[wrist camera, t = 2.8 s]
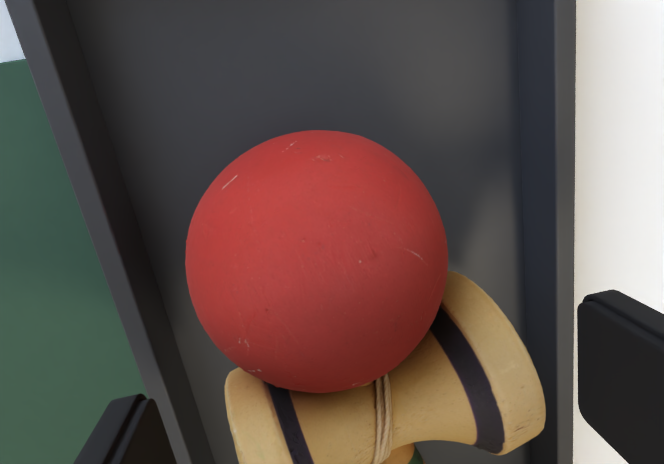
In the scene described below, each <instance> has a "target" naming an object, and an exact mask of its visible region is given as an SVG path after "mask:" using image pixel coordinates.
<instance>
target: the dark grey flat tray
mask: <svg viewBox="0 0 664 464" xmlns="http://www.w3.org/2000/svg"><path fill="white" fill-rule="evenodd" d="M5 3H6V6H7V8H8V11H9V14H10V17H11V19H12V22H13V25H14V28H15V31H16V33H17V36H18V39H19V42H20V44H21V47H22V50H23V53H24V55H25V58H26V61H27V64H28V66H29V69H30V72H31V75H32V77H33V80H34V83H35V86H36V88H37V91H38V94H39V97H40V100H41V102H42V105H43V108H44V111H45V113H46V116H47V119H48V122H49V124H50V127H51V130H52V133H53V135H54V138H55V141H56V144H57V146H58V149H59V152H60V155H61V158H62V160H63V163H64V166H65V169H66V171H67V174H68V177H69V180H70V182H71V185H72V188H73V191H74V193H75V196H76V199H77V202H78V204H79V207H80V210H81V213H82V215H83V218H84V221H85V224H86V227H87V229H88V232H89V235H90V238H91V240H92V243H93V246H94V249H95V251H96V254H97V257H98V260H99V262H100V265H101V268H102V271H103V273H104V276H105V279H106V282H107V285H108V287H109V290H110V293H111V296H112V298H113V301H114V304H115V307H116V309H117V312H118V315H119V318H120V320H121V323H122V326H123V329H124V331H125V334H126V337H127V340H128V343H129V345H130V348H131V351H132V354H133V356H134V359H135V362H136V365H137V367H138V370H139V373H140V376H141V378H142V381H143V384H144V387H145V389H146V392H147V395H148V398H149V399H151V398H152V399H154V400H155V402H156V404H157V406H158V409H159V412H160V415H161V418H162V421H163V424H164V427H165V430H166V433H167V436H168V439H169V441H170V444H171V447H172V450H173V453H174V456H175V459H176V462H177V464H239V461H238V457H237V453H236V449H235V445H234V440H233V437H232V433H231V431H230V424H229V421H228V417H227V410H226V402H225V382H226V378H227V376H228V374H229V372H231V371H233V370H234V369H236V368H238V366H237V365H236V364H235V363H233V362H232V361H231V360H230V359H229V358H228V357H227V356H226V355H225V354H224V353H222V352H221V350H220V349H219V348H218V347H217V346H216V345H215V344H214V343H213V341H212V340H211V338H210V337H209V335H208V334H207V332H206V331H205V330H204V328H203V326H202V324H201V323H200V321H199V319H198V317H197V314H196V311H195V308H194V306H193V303H192V300H191V296H190V293H189V288H188V284H187V276H186V266H185V260H186V253H185V251H186V240H187V236H188V231H189V226H190V223H191V219H192V217H193V214H194V212H195V209H196V207H197V205H198V204H199V202H200V200H201V198H202V196H203V195H204V193H205V192H206V190H207V189H208V188H209V186H210V185H211V183H212V182H213V181H214V180H215V178H216V177H217V176H218V175H219V174H220V173H221V172H222V171H223V170H224V169H225V168H226V167H227V166H228V165H229V164H230V163H231V162H232V161H234V160H235V159H237V158H238V157H239V156H240V155H242V154H243V153H245V152H247V151H248V150H250V149H252V148H253V147H255V146H257V145H259V144H261V143H263V142H265V141H267V140H270V139H273V138H275V137H279V136H282V135H285V134H289V133H294V132H300V131H308V130H328V131H340V132H345V133H351V134H355V135H359V136H362V137H365V138H367V139H370V140H372V141H374V142H376V143H378V144H380V145H382V146H383V147H385V148H386V149H388V150H389V151H391V152H392V153H394V154H395V155H396V156H397V157H399V158H400V159H401V160H402V161H403V162H404V163H405V164H407V165H408V166H409V167H410V168H411V169H412V170H413V171H414V173H415V174H416V175H417V176H418V177H419V179H420V180H421V181H422V183H423V184H424V186H425V187H426V188H427V190H428V192H429V194H430V195H431V197H432V199H433V201H434V202H435V205H436V207H437V209H438V212H439V214H440V217H441V220H442V223H443V226H444V229H445V234H446V239H447V248H448V271H454V272H457V273H459V274H462V275H464V276H466V277H467V278H468V279H470V280H471V281H473V282H474V283H475V284H476V285H478V286H479V287H480V288H481V289H483V291H484V292H485V293H486V294H487V295H489V296H490V297H491V298H492V299H493V301H494V302H495V303H496V304H497V305H498V307H499V308H500V309H501V311H502V312H503V313H504V314H505V316H506V317H507V318H508V320H509V321H510V322H511V324H512V325H513V327H514V329H515V331H516V332H517V334H518V335H519V337H520V339H521V340H522V342H523V344H524V345H525V347H526V349H527V351H528V353H529V355H530V357H531V359H532V362H533V365H534V367H535V369H536V371H537V374H538V377H539V380H540V383H541V386H542V389H543V394H544V399H545V407H546V419H545V424H544V428H543V430H542V431H541V432H540V433H539V434H538V435H537V436H536V437H534V438H532V439H531V440H529V441H527V442H526V443H524V444H522V445H520V446H519V447H517V448H515V449H514V450H512V451H510V452H508V453H507V454H503V455H494V454H491V453H489V452H487V451H485V450H483V449H481V450H480V449H478V448H477V447H474V446H472V445H469V444H465V443H461V442H455V441H446V440H426V441H418V442H414V444H415V446H416V448H417V449H418V451H419V453H420V454H421V456H422V458H423V460H424V462H425V463H426V464H573V347H574V208H575V70H576V0H5Z"/></svg>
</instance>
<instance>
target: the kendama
mask: <svg viewBox="0 0 664 464" xmlns="http://www.w3.org/2000/svg"><path fill="white" fill-rule="evenodd" d="M185 253H186V260H185V266H186V276H187V284H188V288H189V293H190V296H191V300H192V303H193V306H194V308H195V311H196V314H197V317H198V319H199V321H200V323H201V324H202V326H203V328H204V330H205V331H206V332H207V334H208V335H209V337H210V338H211V340H212V341H213V343H214V344H215V345H216V346H217V347H218V348H219V349H220V350H221V352H222V353H224V354H225V355H226V356H227V357H228V358H229V359H230V360H231V361H232V362H233V363H235V364H236V365H237V366H238V368H236V369H234V370H233V371H231V372H229V374H228V376H227V378H226V382H225V402H226V410H227V417H228V421H229V424H230V431H231V433H232V437H233V440H234V445H235V449H236V453H237V457H238V461H239V464H426V463H425V462H424V460H423V458H422V456H421V454H420V453H419V451H418V449H417V448H416V446H415V444H414V442H418V441H426V440H446V441H455V442H461V443H465V444H469V445H472V446H474V447H477V448H478V449H480V450H481V449H483V450H485V451H487V452H489V453H491V454H494V455H503V454H507V453H508V452H510V451H512V450H514V449H515V448H517V447H519V446H520V445H522V444H524V443H526V442H527V441H529V440H531V439H532V438H534V437H536V436H537V435H538V434H539V433H540V432H541V431H542V430H543V428H544V424H545V419H546V407H545V399H544V394H543V389H542V386H541V383H540V380H539V377H538V374H537V371H536V369H535V367H534V365H533V362H532V359H531V357H530V355H529V353H528V351H527V349H526V347H525V345H524V344H523V342H522V340H521V339H520V337H519V335H518V334H517V332H516V331H515V329H514V327H513V325H512V324H511V322H510V321H509V320H508V318H507V317H506V316H505V314H504V313H503V312H502V311H501V309H500V308H499V307H498V305H497V304H496V303H495V302H494V301H493V299H492V298H491V297H490V296H489V295H487V294H486V293H485V292H484V291H483V289H481V288H480V287H479V286H478V285H476V284H475V283H474V282H473V281H471V280H470V279H468V278H467V277H466V276H464V275H462V274H459V273H457V272H454V271H448V248H447V239H446V234H445V229H444V226H443V223H442V220H441V217H440V214H439V212H438V209H437V207H436V205H435V202H434V201H433V199H432V197H431V195H430V194H429V192H428V190H427V188H426V187H425V186H424V184H423V183H422V181H421V180H420V179H419V177H418V176H417V175H416V174H415V173H414V171H413V170H412V169H411V168H410V167H409V166H408V165H407V164H405V163H404V162H403V161H402V160H401V159H400V158H399V157H397V156H396V155H395V154H394V153H392V152H391V151H389V150H388V149H386V148H385V147H383V146H382V145H380V144H378V143H376V142H374V141H372V140H370V139H367V138H365V137H362V136H359V135H355V134H351V133H345V132H340V131H328V130H308V131H300V132H294V133H289V134H285V135H282V136H279V137H275V138H273V139H270V140H267V141H265V142H263V143H261V144H259V145H257V146H255V147H253V148H252V149H250V150H248V151H247V152H245V153H243V154H242V155H240V156H239V157H238V158H237V159H235V160H234V161H232V162H231V163H230V164H229V165H228V166H227V167H226V168H225V169H224V170H223V171H222V172H221V173H220V174H219V175H218V176H217V177H216V178H215V180H214V181H213V182H212V183H211V185H210V186H209V188H208V189H207V190H206V192H205V193H204V195H203V196H202V198H201V200H200V202H199V204H198V205H197V207H196V209H195V212H194V214H193V217H192V219H191V223H190V226H189V231H188V236H187V240H186V251H185Z"/></svg>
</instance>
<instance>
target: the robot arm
mask: <svg viewBox="0 0 664 464" xmlns="http://www.w3.org/2000/svg"><path fill="white" fill-rule="evenodd" d="M577 324H578V405H579V409H580V412H581V414H582V416H583V418H584V419H585V421H586V422H587V423H588V424H589V425H590V426H591V427H592V428H593V429H594V430H595V431H596V432H597V433H598V434H599V435H600V436H601V437H602V438H603V439H604V440H605V441H606V442H607V443H608V444H609V445H610V446H611V447H612V448H614V449H615V450H616V451H617V452H618V453H619V454H620V455H621V456H622V457H623V458H624V459H625V460H626V461H627V462H628V463H629V464H664V314H662V313H660V312H658V311H656V310H654V309H652V308H650V307H648V306H646V305H644V304H642V303H641V302H639V301H637V300H635V299H633V298H631V297H629V296H627V295H625V294H623V293H621V292H619V291H616V290H608V291H603V292H599V293H594V294H590V295H587V296H585V297H584V299H583V302H582V303H581V304H579V306H578V310H577ZM73 464H177V462H176V459H175V456H174V453H173V450H172V447H171V444H170V441H169V439H168V436H167V433H166V430H165V427H164V424H163V421H162V418H161V415H160V412H159V409H158V406H157V404H156V402H155V400H154V399H152V398H151V399H147V398H146V396H145V395H144V394H141V393H140V394H136V395H131V396H127V397H122V398H118V399H114V400H112V401H111V402H110V403H109V404H108V406H107V408H106V409H105V411H104V413H103V414H102V416H101V418H100V419H99V421H98V423H97V424H96V426H95V428H94V430H93V431H92V433H91V435H90V436H89V438H88V440H87V441H86V443H85V445H84V446H83V448H82V450H81V451H80V453H79V455H78V456H77V458H76V460H75V461H74V463H73Z"/></svg>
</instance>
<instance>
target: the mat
mask: <svg viewBox="0 0 664 464" xmlns="http://www.w3.org/2000/svg"><path fill="white" fill-rule="evenodd" d="M140 393H141V394H144V395H145V396H146V398H147V399H149V398H148V395H147V392H146V389H145V387H144V384H143V381H142V378H141V376H140V373H139V370H138V367H137V365H136V362H135V359H134V356H133V354H132V351H131V348H130V345H129V343H128V340H127V337H126V334H125V331H124V329H123V326H122V323H121V320H120V318H119V315H118V312H117V309H116V307H115V304H114V301H113V298H112V296H111V293H110V290H109V287H108V285H107V282H106V279H105V276H104V273H103V271H102V268H101V265H100V262H99V260H98V257H97V254H96V251H95V249H94V246H93V243H92V240H91V238H90V235H89V232H88V229H87V227H86V224H85V221H84V218H83V215H82V213H81V210H80V207H79V204H78V202H77V199H76V196H75V193H74V191H73V188H72V185H71V182H70V180H69V177H68V174H67V171H66V169H65V166H64V163H63V160H62V158H61V155H60V152H59V149H58V146H57V144H56V141H55V138H54V135H53V133H52V130H51V127H50V124H49V122H48V119H47V116H46V113H45V111H44V108H43V105H42V102H41V100H40V97H39V94H38V91H37V88H36V86H35V83H34V80H33V77H32V75H31V72H30V69H29V66H28V64H27V61H26V59H22V60H16V61H10V62H4V63H0V464H73V463H74V461H75V460H76V458H77V456H78V455H79V453H80V451H81V450H82V448H83V446H84V445H85V443H86V441H87V440H88V438H89V436H90V435H91V433H92V431H93V430H94V428H95V426H96V424H97V423H98V421H99V419H100V418H101V416H102V414H103V413H104V411H105V409H106V408H107V406H108V404H109V403H110V402H111V401H112V400H114V399H118V398H122V397H127V396H131V395H136V394H140Z"/></svg>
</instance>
